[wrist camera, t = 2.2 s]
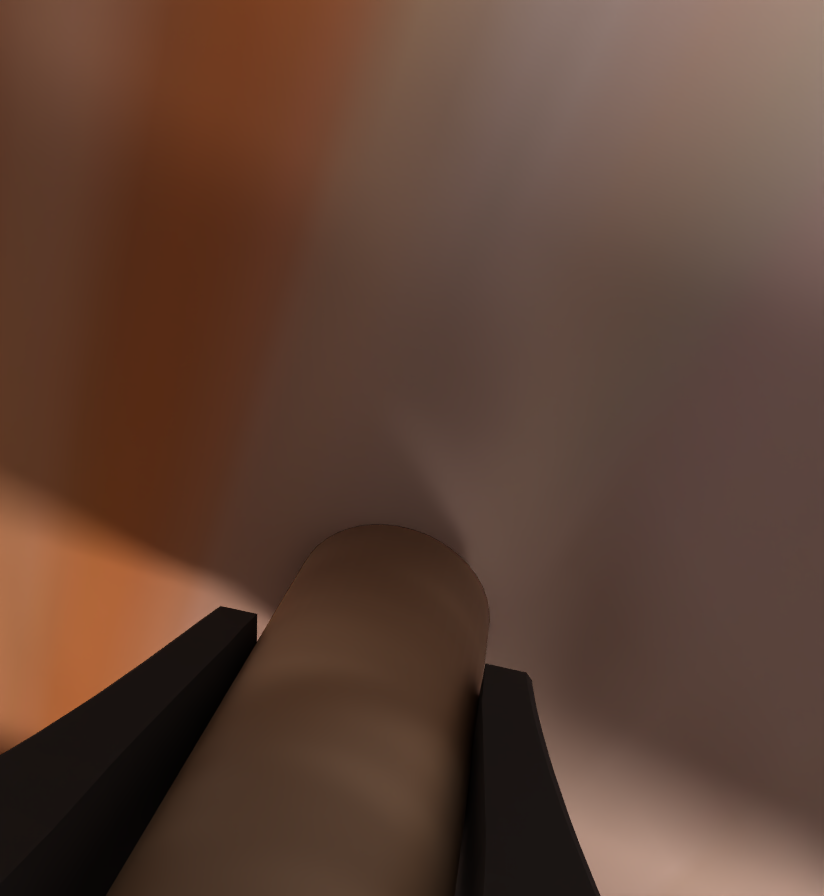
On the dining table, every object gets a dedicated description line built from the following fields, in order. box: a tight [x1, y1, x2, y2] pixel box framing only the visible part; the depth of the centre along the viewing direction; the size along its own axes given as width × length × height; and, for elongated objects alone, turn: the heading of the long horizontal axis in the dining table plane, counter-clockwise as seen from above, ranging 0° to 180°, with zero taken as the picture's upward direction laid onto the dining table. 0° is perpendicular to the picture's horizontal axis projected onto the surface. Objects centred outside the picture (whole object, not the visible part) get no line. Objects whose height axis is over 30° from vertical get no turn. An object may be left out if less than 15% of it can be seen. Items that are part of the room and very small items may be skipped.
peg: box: [106, 525, 490, 896], centre depth 9 cm, size 4×4×7 cm
